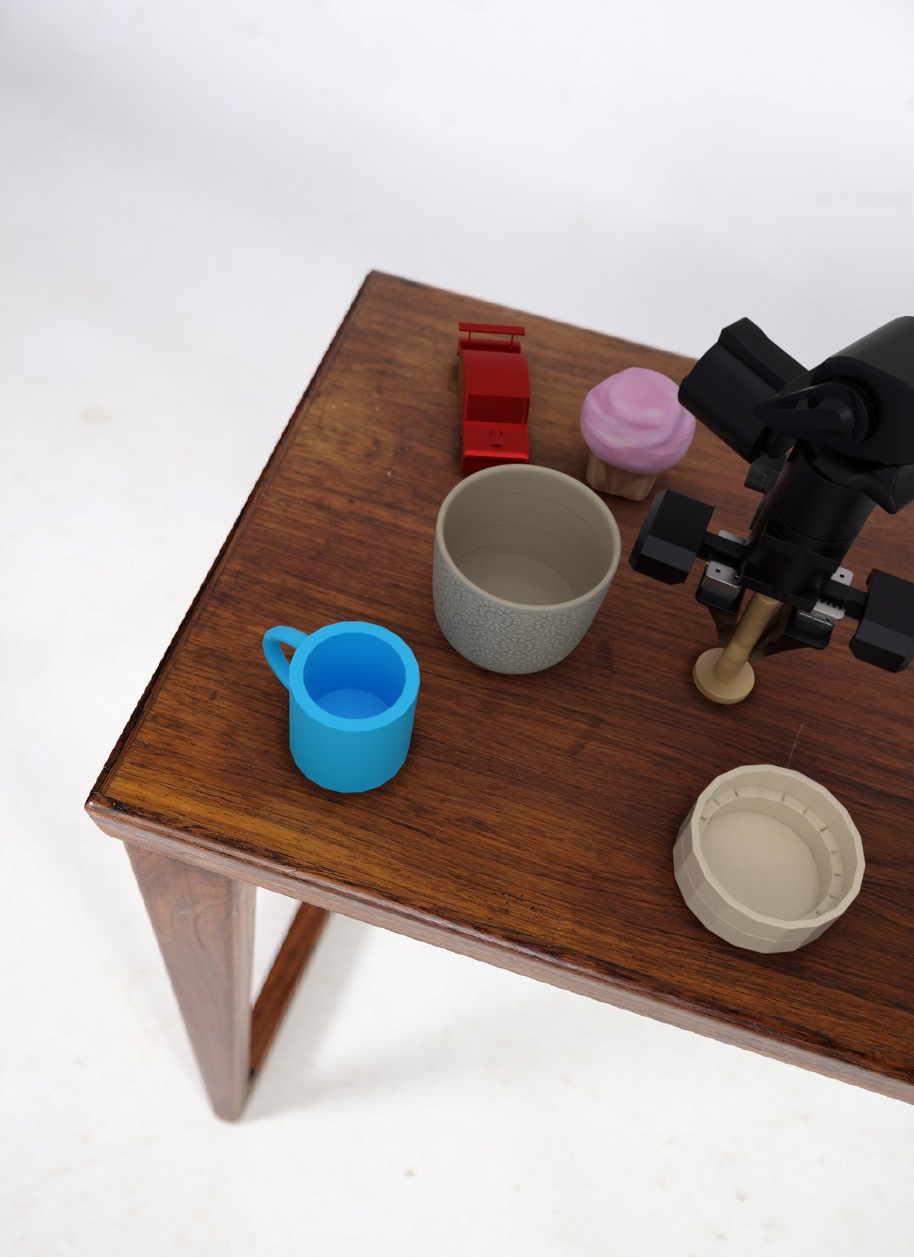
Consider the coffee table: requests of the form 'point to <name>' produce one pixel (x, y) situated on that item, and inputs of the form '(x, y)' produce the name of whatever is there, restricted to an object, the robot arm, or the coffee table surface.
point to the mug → (347, 701)
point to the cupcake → (634, 431)
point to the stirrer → (734, 655)
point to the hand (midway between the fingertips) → (738, 648)
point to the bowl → (768, 858)
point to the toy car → (492, 398)
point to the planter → (521, 566)
